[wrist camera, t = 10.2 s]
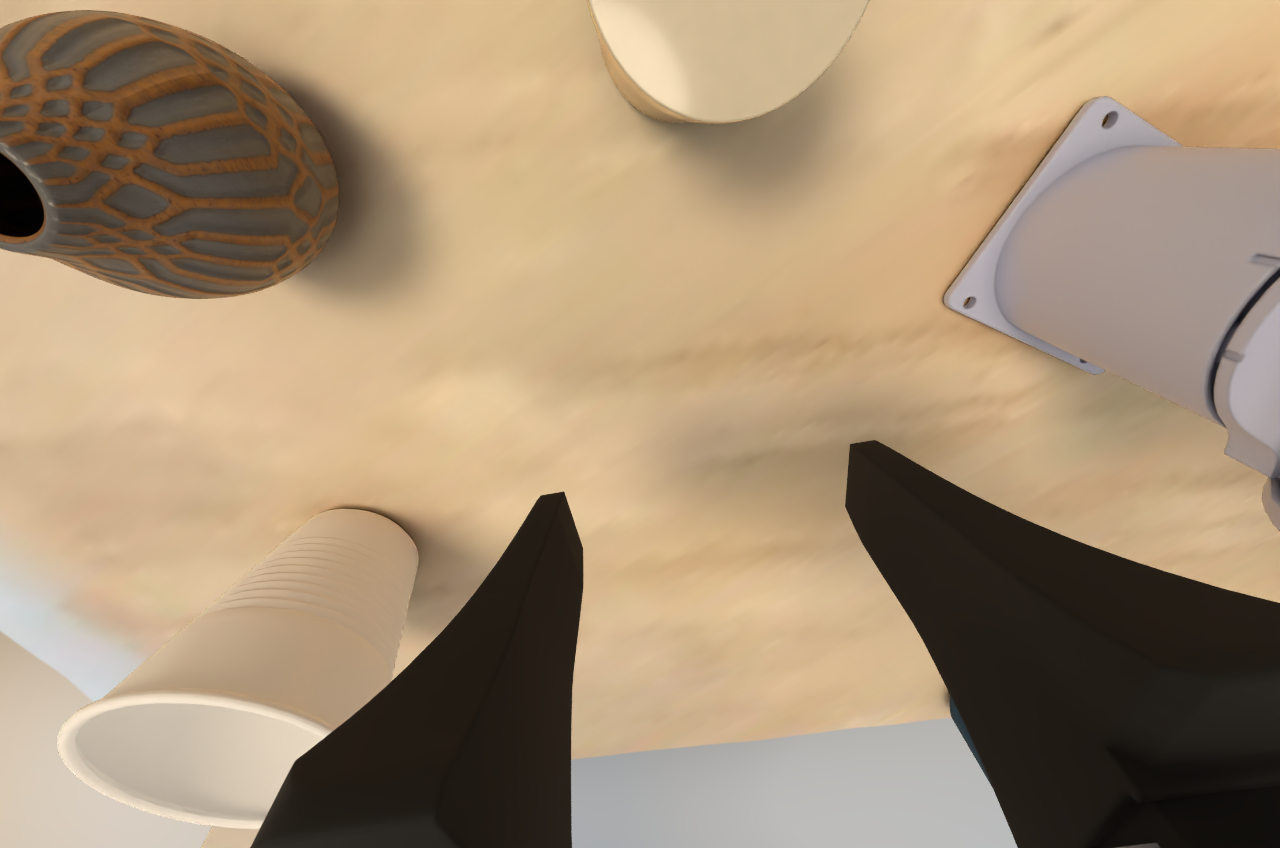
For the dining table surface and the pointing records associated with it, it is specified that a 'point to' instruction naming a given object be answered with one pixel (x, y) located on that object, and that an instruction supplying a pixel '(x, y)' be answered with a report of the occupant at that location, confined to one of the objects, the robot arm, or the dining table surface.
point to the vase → (155, 158)
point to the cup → (253, 677)
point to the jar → (719, 53)
